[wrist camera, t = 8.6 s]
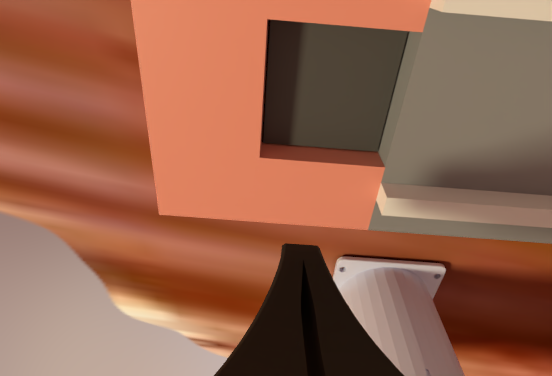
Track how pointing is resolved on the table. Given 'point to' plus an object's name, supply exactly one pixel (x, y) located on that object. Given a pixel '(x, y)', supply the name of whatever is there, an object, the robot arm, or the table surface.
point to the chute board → (353, 113)
